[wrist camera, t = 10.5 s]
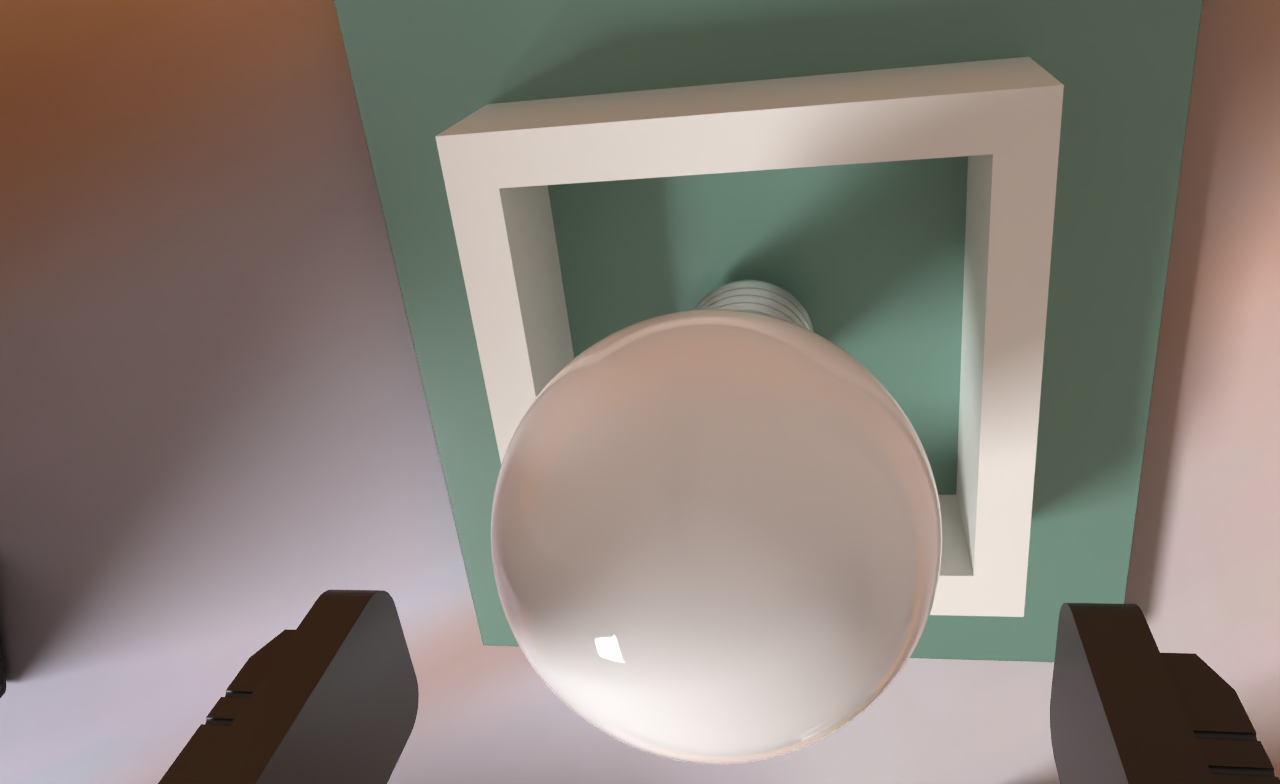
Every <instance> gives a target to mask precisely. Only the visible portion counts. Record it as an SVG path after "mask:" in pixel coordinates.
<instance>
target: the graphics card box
mask: <svg viewBox="0 0 1280 784" xmlns="http://www.w3.org/2000/svg"><path fill="white" fill-rule="evenodd" d="M5 691H6V678H5V668H4V657H3V654H2V646H1V640H0V698H1V697H2V695H3V694H4V693H5Z"/></svg>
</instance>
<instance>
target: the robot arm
mask: <svg viewBox="0 0 1280 784" xmlns="http://www.w3.org/2000/svg"><path fill="white" fill-rule="evenodd" d="M417 709H418V684H417V679H416V675H415V672H414V668H413V665H412V661H411V658H410V655H409V651H408V648H407V644H406V641H405V637H404V634H403V631H402V627H401V624H400V620H399V617H398V614H397V610H396V607H395V604H394V601H393V599H392V597H391V596H390V595H389V593H387V592H386V591H377V590H328V591H326V592H324V593H323V594H322V595H320V597H319V598H318V599H317V601H316V602H315V603H314V605H313V606H312V608H311V609H310V611H309V612H308V614H307V615H306V616H305V618H304V619H303V621H302V622H301V624H300V625H299V627H298V628H297V629H296V630H284V631H283V632H282V633H280V634H279V635H278V636H277V637H275V638H274V639H273V640H272V641H270V642H269V643H268V644H266V645H265V646H264V647H263V648H261V649H260V650H259V651H258V652H256V653H255V654H254V655H253V656H251V657H250V658H249V659H248V661H247V662H246V664H245V665H244V666H243V668H242V669H241V670H240V672H239V673H238V675H237V676H236V677H235V679H234V680H233V681H232V683H231V684H230V686H229V687H228V688H227V690H226V696H225V697H221V698H220V699H219V701H218V702H217V703H216V705H215V706H214V708H213V709H212V710H211V712H210V713H209V714H208V716H207V717H206V719H207V721H206V724H205V725H200V727H199V728H198V730H197V731H196V732H195V734H194V735H193V736H192V738H191V739H190V741H189V742H188V743H187V745H186V746H185V747H184V749H183V750H182V752H181V753H180V754H179V756H178V757H177V758H176V760H175V761H174V763H173V764H172V765H171V767H170V768H169V769H168V771H167V772H166V774H165V775H164V776H163V778H162V779H161V780H160V782H159V783H158V784H387V782H388V780H389V778H390V776H391V774H392V772H393V770H394V768H395V765H396V763H397V761H398V759H399V757H400V755H401V753H402V751H403V749H404V747H405V745H406V742H407V740H408V738H409V736H410V734H411V732H412V729H413V726H414V723H415V720H416V715H417ZM1050 728H1051V739H1052V747H1053V753H1054V759H1055V763H1056V767H1057V771H1058V775H1059V779H1060V783H1061V784H1280V780H1279V778H1278V777H1275V775H1274V768H1273V766H1272V764H1271V762H1270V760H1269V758H1268V756H1267V754H1266V752H1265V750H1264V748H1263V746H1262V744H1261V742H1260V741H1257V739H1256V732H1255V729H1254V727H1253V725H1252V723H1251V721H1250V719H1249V717H1248V715H1247V713H1246V711H1245V709H1244V707H1243V705H1242V703H1241V701H1240V699H1239V697H1238V695H1237V693H1236V691H1235V690H1234V689H1233V688H1232V687H1231V686H1230V685H1229V684H1228V683H1226V682H1225V681H1224V680H1223V679H1222V678H1221V677H1220V676H1219V675H1218V674H1217V673H1216V672H1215V671H1213V670H1212V669H1211V668H1210V667H1209V666H1208V665H1207V664H1206V663H1205V662H1204V661H1203V660H1202V659H1201V658H1199V657H1198V656H1197V655H1196V654H1184V653H1160V652H1159V650H1158V647H1157V645H1156V643H1155V640H1154V638H1153V636H1152V633H1151V631H1150V629H1149V626H1148V624H1147V622H1146V619H1145V617H1144V615H1143V613H1142V611H1141V609H1140V608H1139V606H1137V605H1136V604H1109V603H1063V605H1062V606H1061V609H1060V613H1059V621H1058V631H1057V641H1056V651H1055V661H1054V671H1053V681H1052V691H1051V702H1050Z"/></svg>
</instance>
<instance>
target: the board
mask: <svg viewBox="0 0 1280 784" xmlns="http://www.w3.org/2000/svg"><path fill="white" fill-rule="evenodd" d="M1202 1H1203V0H334V4H335V8H336V13H337V17H338V21H339V25H340V30H341V34H342V38H343V43H344V47H345V51H346V56H347V60H348V64H349V69H350V73H351V77H352V82H353V86H354V90H355V94H356V99H357V103H358V107H359V112H360V116H361V120H362V125H363V129H364V133H365V138H366V142H367V146H368V151H369V155H370V159H371V163H372V168H373V172H374V176H375V181H376V185H377V189H378V194H379V198H380V202H381V207H382V211H383V215H384V220H385V224H386V228H387V232H388V237H389V241H390V245H391V250H392V254H393V258H394V263H395V267H396V271H397V276H398V280H399V284H400V289H401V293H402V297H403V301H404V306H405V310H406V314H407V319H408V323H409V327H410V332H411V336H412V340H413V345H414V349H415V353H416V358H417V362H418V366H419V370H420V375H421V379H422V383H423V388H424V392H425V396H426V401H427V405H428V409H429V414H430V418H431V422H432V427H433V431H434V435H435V439H436V444H437V448H438V452H439V457H440V461H441V465H442V470H443V474H444V478H445V483H446V487H447V491H448V496H449V500H450V504H451V508H452V513H453V517H454V521H455V526H456V530H457V534H458V539H459V543H460V547H461V552H462V556H463V560H464V565H465V569H466V573H467V577H468V582H469V586H470V590H471V595H472V599H473V603H474V608H475V612H476V616H477V621H478V625H479V629H480V634H481V638H482V642H483V645H488V646H519V644H518V642H517V640H516V639H515V636H514V634H513V632H512V630H511V628H510V626H509V623H508V621H507V618H506V616H505V613H504V610H503V607H502V604H501V601H500V597H499V594H498V590H497V586H496V581H495V576H494V570H493V563H492V553H491V515H492V506H493V498H494V492H495V487H496V483H497V478H498V474H499V471H500V467H501V464H502V461H503V458H504V455H505V453H506V450H507V448H508V445H509V443H510V441H511V438H512V436H513V434H514V432H515V430H516V428H517V426H518V425H519V423H520V421H521V419H522V418H523V416H524V414H525V413H526V411H527V410H528V408H529V407H530V405H531V404H532V403H533V401H534V400H535V399H536V397H537V396H538V394H539V393H540V392H541V391H542V390H543V388H544V387H545V386H546V385H547V384H548V383H549V382H550V380H551V379H552V378H553V377H554V376H555V375H556V374H557V373H558V372H559V371H560V370H561V369H562V368H563V367H565V366H566V365H567V364H568V363H569V362H570V361H571V360H573V359H574V358H575V357H576V356H578V355H579V354H580V353H582V352H583V351H584V350H586V349H587V348H589V347H590V346H592V345H593V344H595V343H596V342H598V341H600V340H601V339H603V338H605V337H607V336H608V335H610V334H612V333H614V332H616V331H618V330H620V329H622V328H625V327H627V326H630V325H632V324H634V323H637V322H640V321H643V320H646V319H649V318H652V317H656V316H660V315H664V314H668V313H673V312H679V311H686V310H694V309H695V307H696V306H697V304H698V303H699V302H700V301H701V300H702V299H703V298H704V297H705V296H706V295H707V294H708V293H710V292H711V291H712V290H714V289H716V288H718V287H719V286H722V285H724V284H727V283H730V282H734V281H739V280H759V281H764V282H768V283H771V284H774V285H776V286H779V287H781V288H783V289H784V290H786V291H787V292H789V293H790V294H792V295H793V296H794V297H795V298H796V299H797V300H798V301H799V302H800V303H801V304H802V306H803V307H804V308H805V310H806V311H807V313H808V315H809V318H810V320H811V323H812V327H813V331H814V332H815V333H817V334H819V335H821V336H823V337H825V338H826V339H828V340H830V341H831V342H833V343H835V344H836V345H838V346H839V347H841V348H842V349H844V350H845V351H847V352H848V353H849V354H851V355H852V356H853V357H855V358H856V359H857V360H858V361H859V362H861V363H862V364H863V365H864V366H865V367H866V368H867V369H869V370H870V371H871V372H872V373H873V374H874V375H875V376H876V377H877V378H878V379H879V380H880V381H881V383H882V384H883V385H884V386H885V387H886V388H887V389H888V390H889V392H890V393H891V394H892V395H893V397H894V398H895V399H896V401H897V402H898V403H899V405H900V406H901V407H902V409H903V410H904V412H905V414H906V415H907V417H908V418H909V420H910V422H911V423H912V425H913V427H914V429H915V430H916V432H917V434H918V436H919V438H920V441H921V443H922V445H923V447H924V450H925V452H926V454H927V457H928V460H929V462H930V465H931V468H932V472H933V475H934V478H935V483H936V487H937V491H938V496H939V501H940V508H941V517H942V560H941V568H940V576H939V581H938V586H937V591H936V595H935V599H934V603H933V606H932V609H931V612H930V616H929V618H928V621H927V623H926V626H925V628H924V631H923V633H922V635H921V637H920V639H919V642H918V644H917V645H916V647H915V649H914V651H913V653H912V655H911V656H910V658H930V659H964V660H998V661H1033V662H1054V661H1055V651H1056V641H1057V631H1058V621H1059V613H1060V609H1061V606H1062V605H1063V603H1109V604H1124V599H1125V591H1126V584H1127V576H1128V568H1129V561H1130V553H1131V545H1132V538H1133V530H1134V522H1135V515H1136V507H1137V499H1138V492H1139V484H1140V476H1141V469H1142V461H1143V453H1144V446H1145V438H1146V430H1147V423H1148V415H1149V407H1150V400H1151V392H1152V384H1153V377H1154V369H1155V361H1156V354H1157V346H1158V338H1159V331H1160V323H1161V315H1162V308H1163V300H1164V292H1165V285H1166V277H1167V269H1168V262H1169V254H1170V246H1171V239H1172V231H1173V223H1174V216H1175V208H1176V200H1177V193H1178V185H1179V177H1180V170H1181V162H1182V154H1183V147H1184V139H1185V131H1186V124H1187V116H1188V108H1189V101H1190V93H1191V85H1192V78H1193V70H1194V62H1195V55H1196V47H1197V39H1198V32H1199V24H1200V16H1201V9H1202Z"/></svg>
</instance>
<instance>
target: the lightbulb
mask: <svg viewBox="0 0 1280 784" xmlns="http://www.w3.org/2000/svg"><path fill="white" fill-rule="evenodd" d="M491 553H492V563H493V570H494V576H495V581H496V586H497V590H498V594H499V597H500V601H501V604H502V607H503V610H504V613H505V616H506V618H507V621H508V623H509V626H510V628H511V630H512V632H513V634H514V636H515V639H516V640H517V642H518V644H519V646H520V648H521V650H522V651H523V653H524V655H525V656H526V658H527V660H528V661H529V663H530V664H531V666H532V667H533V668H534V670H535V671H536V672H537V674H538V675H539V676H540V678H541V679H542V680H543V681H544V683H545V684H546V685H547V686H548V687H549V688H550V689H551V691H552V692H553V693H554V694H555V695H556V696H557V697H558V698H559V699H560V700H561V701H562V702H563V703H564V704H566V705H567V706H568V707H569V708H570V709H571V710H572V711H573V712H575V713H576V714H577V715H578V716H580V717H581V718H582V719H584V720H585V721H586V722H588V723H589V724H591V725H592V726H594V727H595V728H597V729H598V730H600V731H602V732H603V733H605V734H607V735H608V736H610V737H612V738H614V739H616V740H618V741H620V742H622V743H624V744H626V745H628V746H631V747H633V748H636V749H638V750H641V751H644V752H647V753H650V754H653V755H656V756H660V757H664V758H668V759H672V760H677V761H682V762H689V763H698V764H740V763H749V762H755V761H761V760H766V759H771V758H775V757H779V756H782V755H785V754H789V753H792V752H794V751H797V750H800V749H802V748H805V747H807V746H809V745H812V744H814V743H816V742H818V741H820V740H822V739H824V738H826V737H827V736H829V735H831V734H833V733H834V732H836V731H838V730H839V729H841V728H842V727H844V726H845V725H847V724H848V723H850V722H851V721H852V720H854V719H855V718H856V717H857V716H859V715H860V714H861V713H862V712H864V711H865V710H866V709H867V708H868V707H869V706H870V705H871V704H872V703H874V702H875V701H876V700H877V699H878V698H879V697H880V696H881V694H882V693H883V692H884V691H885V690H886V689H887V688H888V687H889V686H890V684H891V683H892V682H893V681H894V679H895V678H896V677H897V676H898V674H899V673H900V671H901V670H902V669H903V667H904V666H905V664H906V663H907V661H908V659H909V658H910V656H911V655H912V653H913V651H914V649H915V647H916V645H917V644H918V642H919V639H920V637H921V635H922V633H923V631H924V628H925V626H926V623H927V621H928V618H929V616H930V612H931V609H932V606H933V603H934V599H935V595H936V591H937V586H938V581H939V576H940V568H941V560H942V517H941V508H940V501H939V496H938V491H937V487H936V483H935V478H934V475H933V472H932V468H931V465H930V462H929V460H928V457H927V454H926V452H925V450H924V447H923V445H922V443H921V441H920V438H919V436H918V434H917V432H916V430H915V429H914V427H913V425H912V423H911V422H910V420H909V418H908V417H907V415H906V414H905V412H904V410H903V409H902V407H901V406H900V405H899V403H898V402H897V401H896V399H895V398H894V397H893V395H892V394H891V393H890V392H889V390H888V389H887V388H886V387H885V386H884V385H883V384H882V383H881V381H880V380H879V379H878V378H877V377H876V376H875V375H874V374H873V373H872V372H871V371H870V370H869V369H867V368H866V367H865V366H864V365H863V364H862V363H861V362H859V361H858V360H857V359H856V358H855V357H853V356H852V355H851V354H849V353H848V352H847V351H845V350H844V349H842V348H841V347H839V346H838V345H836V344H835V343H833V342H831V341H830V340H828V339H826V338H825V337H823V336H821V335H819V334H817V333H815V332H814V331H813V327H812V323H811V320H810V318H809V315H808V313H807V311H806V310H805V308H804V307H803V306H802V304H801V303H800V302H799V301H798V300H797V299H796V298H795V297H794V296H793V295H792V294H790V293H789V292H787V291H786V290H784V289H783V288H781V287H779V286H776V285H774V284H771V283H768V282H764V281H759V280H739V281H734V282H730V283H727V284H724V285H722V286H719V287H718V288H716V289H714V290H712V291H711V292H710V293H708V294H707V295H706V296H705V297H704V298H703V299H702V300H701V301H700V302H699V303H698V304H697V306H696V307H695V309H694V310H686V311H679V312H673V313H668V314H664V315H660V316H656V317H652V318H649V319H646V320H643V321H640V322H637V323H634V324H632V325H630V326H627V327H625V328H622V329H620V330H618V331H616V332H614V333H612V334H610V335H608V336H607V337H605V338H603V339H601V340H600V341H598V342H596V343H595V344H593V345H592V346H590V347H589V348H587V349H586V350H584V351H583V352H582V353H580V354H579V355H578V356H576V357H575V358H574V359H573V360H571V361H570V362H569V363H568V364H567V365H566V366H565V367H563V368H562V369H561V370H560V371H559V372H558V373H557V374H556V375H555V376H554V377H553V378H552V379H551V380H550V382H549V383H548V384H547V385H546V386H545V387H544V388H543V390H542V391H541V392H540V393H539V394H538V396H537V397H536V399H535V400H534V401H533V403H532V404H531V405H530V407H529V408H528V410H527V411H526V413H525V414H524V416H523V418H522V419H521V421H520V423H519V425H518V426H517V428H516V430H515V432H514V434H513V436H512V438H511V441H510V443H509V445H508V448H507V450H506V453H505V455H504V458H503V461H502V464H501V467H500V471H499V474H498V478H497V483H496V487H495V492H494V498H493V506H492V515H491Z"/></svg>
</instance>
